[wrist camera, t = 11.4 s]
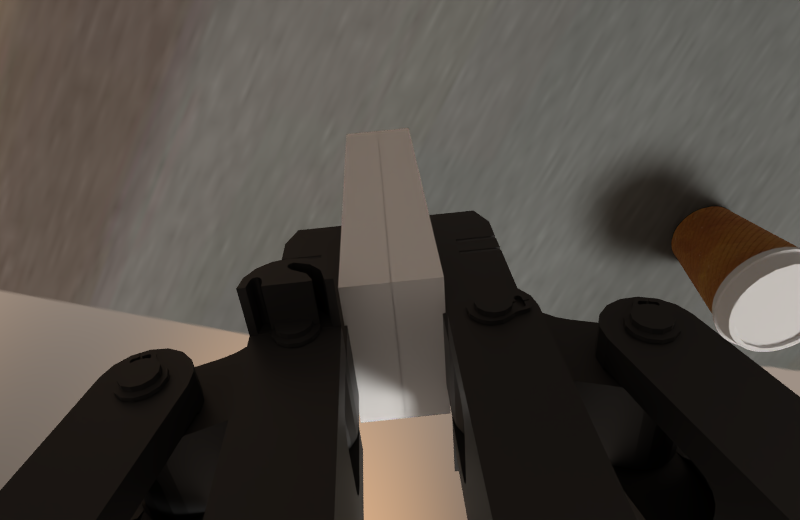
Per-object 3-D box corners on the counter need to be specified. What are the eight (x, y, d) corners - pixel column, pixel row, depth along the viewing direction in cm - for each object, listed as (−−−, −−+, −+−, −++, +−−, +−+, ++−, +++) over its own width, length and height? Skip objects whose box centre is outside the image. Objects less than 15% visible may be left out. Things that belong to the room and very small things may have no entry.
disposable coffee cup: (690, 178, 51) (774, 243, 41) (774, 206, 53) (874, 275, 43) (635, 263, 55) (698, 342, 45) (715, 286, 57) (792, 366, 47)
